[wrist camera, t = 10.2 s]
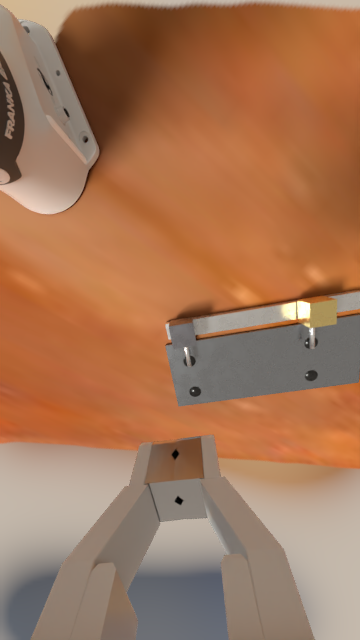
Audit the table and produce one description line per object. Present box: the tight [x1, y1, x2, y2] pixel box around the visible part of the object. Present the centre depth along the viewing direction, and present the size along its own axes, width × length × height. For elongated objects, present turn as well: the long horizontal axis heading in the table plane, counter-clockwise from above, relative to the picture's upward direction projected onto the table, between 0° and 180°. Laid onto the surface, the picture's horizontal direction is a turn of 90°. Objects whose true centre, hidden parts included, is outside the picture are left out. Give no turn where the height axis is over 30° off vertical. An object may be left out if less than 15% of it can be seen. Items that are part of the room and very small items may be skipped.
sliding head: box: [297, 296, 337, 349], centre depth 33 cm, size 9×4×4 cm, turn 10°
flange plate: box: [165, 314, 360, 406], centre depth 38 cm, size 14×36×1 cm, turn 100°
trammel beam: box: [165, 290, 360, 367], centre depth 34 cm, size 9×34×5 cm, turn 100°
